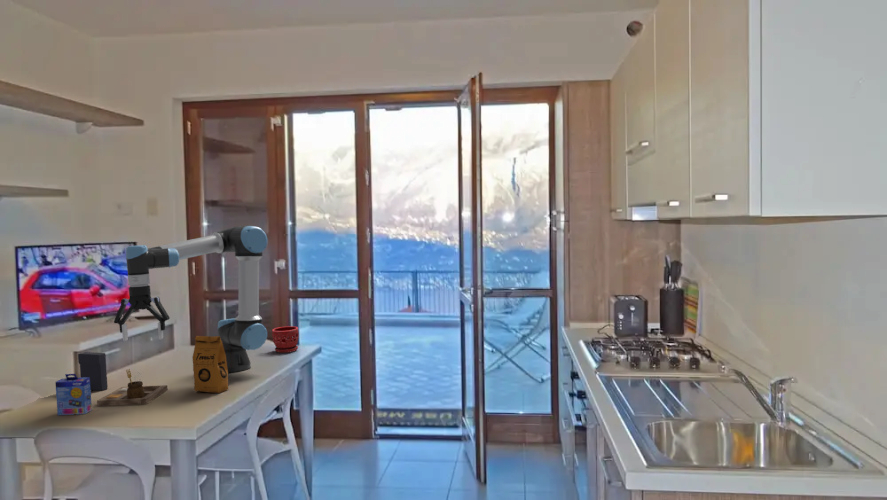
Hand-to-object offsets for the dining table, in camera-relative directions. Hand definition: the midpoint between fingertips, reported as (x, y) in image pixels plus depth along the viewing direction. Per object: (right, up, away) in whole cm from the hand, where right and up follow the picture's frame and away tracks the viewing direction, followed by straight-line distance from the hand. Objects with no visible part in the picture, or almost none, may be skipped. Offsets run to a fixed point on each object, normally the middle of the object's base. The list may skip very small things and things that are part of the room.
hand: (143, 339), depth 253 cm
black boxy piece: (-26, -22, +14) cm, 37 cm away
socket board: (-3, -22, -1) cm, 22 cm away
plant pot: (+36, -17, +81) cm, 91 cm away
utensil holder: (0, -22, -6) cm, 23 cm away
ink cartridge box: (-16, -24, -20) cm, 35 cm away
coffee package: (+25, -21, +5) cm, 33 cm away
